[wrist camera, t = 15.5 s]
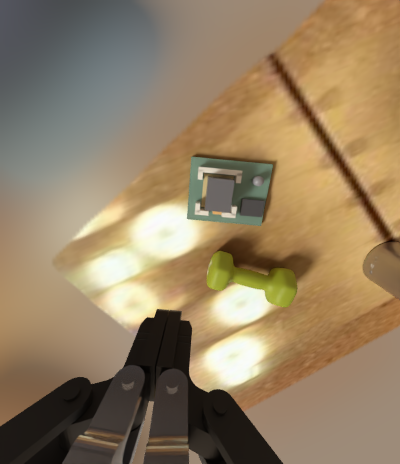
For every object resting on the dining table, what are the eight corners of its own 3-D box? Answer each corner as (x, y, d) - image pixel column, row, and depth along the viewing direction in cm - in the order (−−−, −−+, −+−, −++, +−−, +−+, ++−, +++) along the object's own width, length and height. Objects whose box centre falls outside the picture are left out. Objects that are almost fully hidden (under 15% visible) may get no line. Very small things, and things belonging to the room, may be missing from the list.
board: (271, 164, 34) (277, 164, 32) (259, 224, 38) (264, 229, 35) (191, 156, 34) (190, 156, 31) (187, 217, 38) (186, 221, 35)
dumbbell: (290, 263, 41) (307, 283, 34) (274, 294, 43) (288, 318, 36) (214, 241, 39) (217, 257, 33) (203, 275, 42) (203, 296, 35)
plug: (230, 178, 34) (234, 180, 29) (226, 209, 36) (229, 215, 31) (207, 176, 34) (208, 177, 29) (204, 207, 36) (204, 213, 31)
